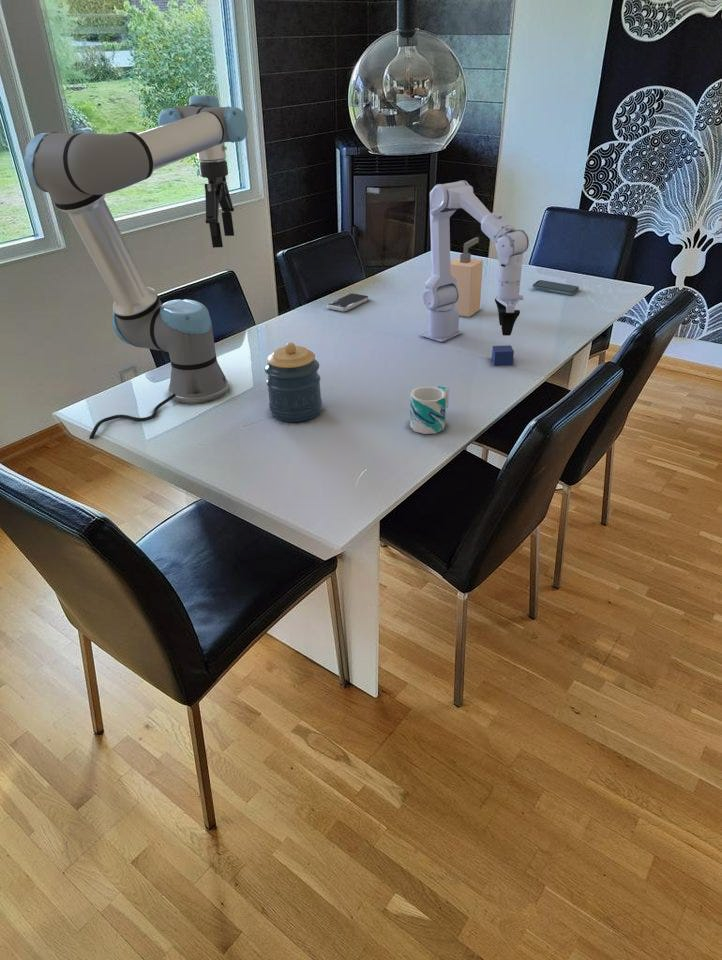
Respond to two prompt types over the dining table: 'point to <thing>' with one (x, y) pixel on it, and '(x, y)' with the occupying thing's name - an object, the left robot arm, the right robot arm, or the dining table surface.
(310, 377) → the canister
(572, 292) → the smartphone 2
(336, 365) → the dining table surface
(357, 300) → the smartphone
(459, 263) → the soap dispenser
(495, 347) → the block
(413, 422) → the mug
